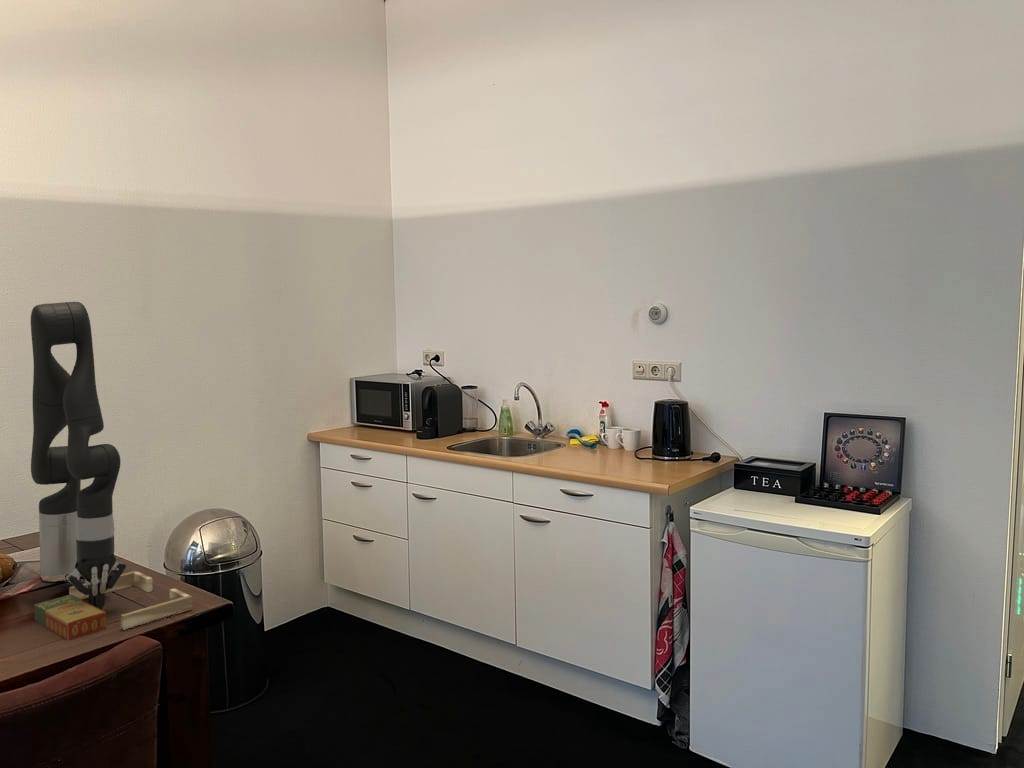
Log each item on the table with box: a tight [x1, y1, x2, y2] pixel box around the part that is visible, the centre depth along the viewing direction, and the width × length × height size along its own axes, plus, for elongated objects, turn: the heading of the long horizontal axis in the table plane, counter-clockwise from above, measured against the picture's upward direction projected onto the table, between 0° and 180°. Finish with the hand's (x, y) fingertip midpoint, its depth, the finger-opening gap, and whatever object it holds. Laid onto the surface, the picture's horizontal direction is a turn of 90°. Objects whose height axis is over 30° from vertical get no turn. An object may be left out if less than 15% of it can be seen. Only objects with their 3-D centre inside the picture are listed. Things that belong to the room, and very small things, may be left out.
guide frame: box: [68, 570, 193, 631], centre depth 188 cm, size 25×16×3 cm, turn 52°
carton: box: [33, 594, 107, 641], centre depth 177 cm, size 8×16×4 cm, turn 52°
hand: (96, 609), depth 182 cm, fingers closed
